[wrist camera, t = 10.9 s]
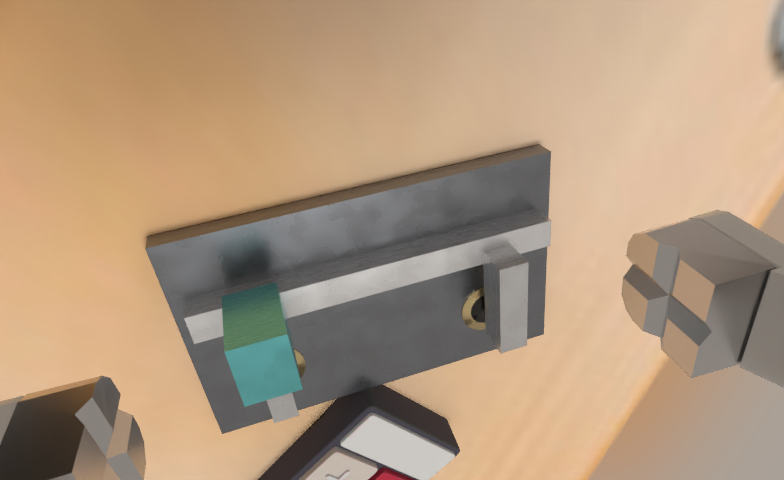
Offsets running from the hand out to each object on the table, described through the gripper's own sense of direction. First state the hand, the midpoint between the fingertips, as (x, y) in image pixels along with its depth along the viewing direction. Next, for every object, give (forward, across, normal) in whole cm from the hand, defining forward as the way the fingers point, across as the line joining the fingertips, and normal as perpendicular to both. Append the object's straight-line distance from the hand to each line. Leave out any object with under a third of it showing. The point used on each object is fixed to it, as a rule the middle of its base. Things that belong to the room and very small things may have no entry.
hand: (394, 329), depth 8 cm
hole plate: (+25, -3, +18) cm, 31 cm away
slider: (+22, +5, +17) cm, 29 cm away
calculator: (+25, +2, +35) cm, 43 cm away
